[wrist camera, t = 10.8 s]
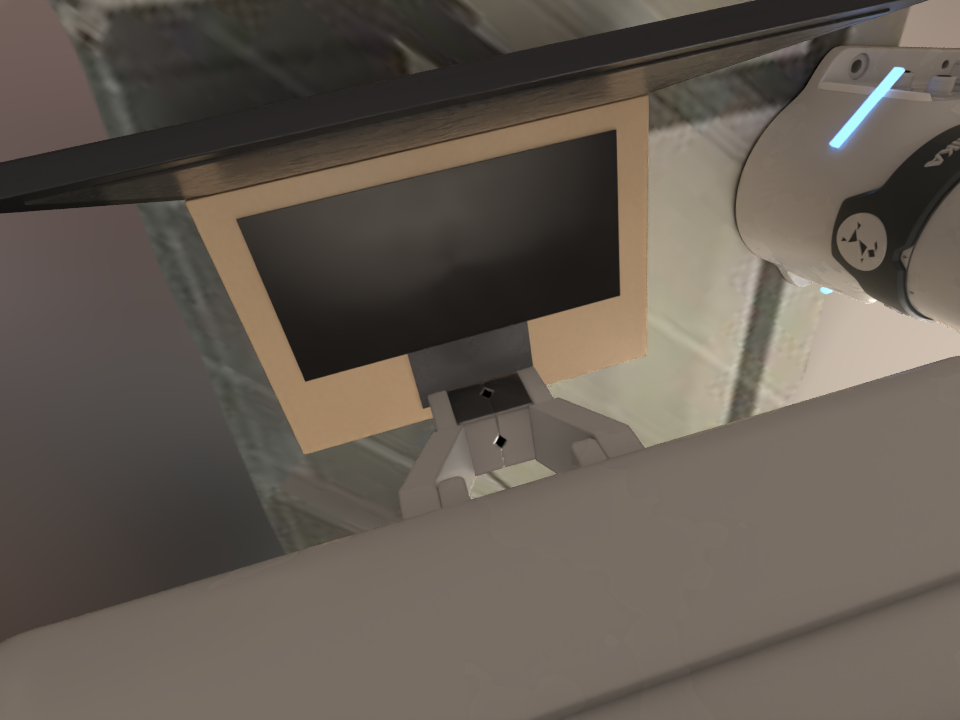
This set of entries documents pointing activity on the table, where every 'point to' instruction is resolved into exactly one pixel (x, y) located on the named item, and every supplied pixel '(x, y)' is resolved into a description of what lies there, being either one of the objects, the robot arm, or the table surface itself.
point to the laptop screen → (417, 107)
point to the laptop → (440, 267)
